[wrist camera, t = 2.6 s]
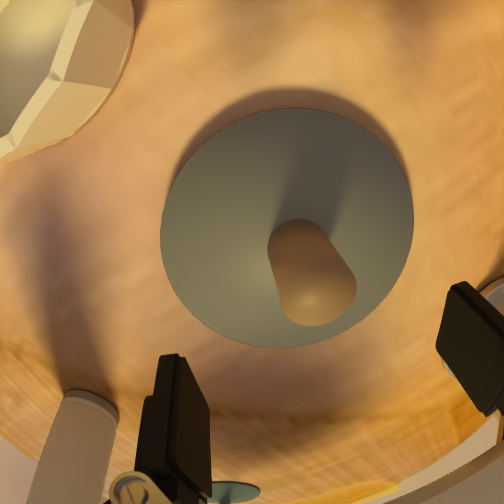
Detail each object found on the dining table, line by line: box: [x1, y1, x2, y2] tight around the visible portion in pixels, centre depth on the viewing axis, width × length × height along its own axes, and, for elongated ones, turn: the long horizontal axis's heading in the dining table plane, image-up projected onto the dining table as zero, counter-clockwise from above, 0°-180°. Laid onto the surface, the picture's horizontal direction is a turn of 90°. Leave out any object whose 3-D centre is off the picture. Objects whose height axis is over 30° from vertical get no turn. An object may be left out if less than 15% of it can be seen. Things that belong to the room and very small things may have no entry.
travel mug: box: [26, 390, 119, 504], centre depth 16 cm, size 6×7×20 cm
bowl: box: [0, 0, 136, 165], centre depth 9 cm, size 13×13×6 cm
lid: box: [160, 108, 414, 348], centre depth 16 cm, size 16×16×6 cm
